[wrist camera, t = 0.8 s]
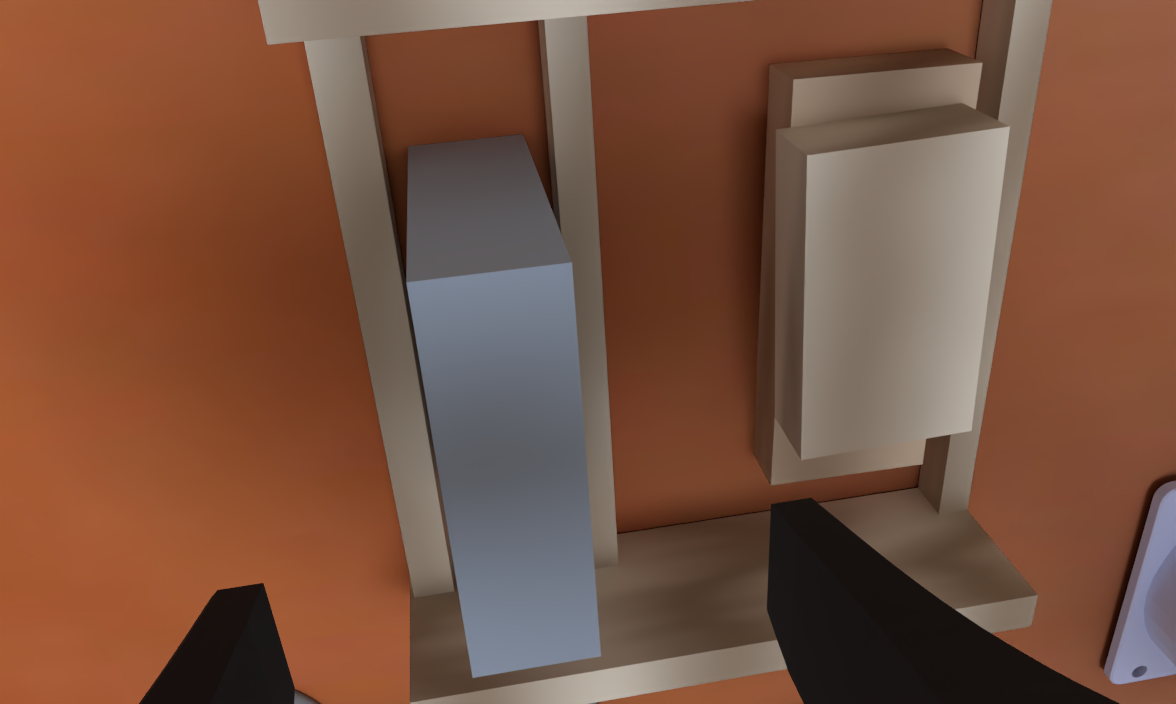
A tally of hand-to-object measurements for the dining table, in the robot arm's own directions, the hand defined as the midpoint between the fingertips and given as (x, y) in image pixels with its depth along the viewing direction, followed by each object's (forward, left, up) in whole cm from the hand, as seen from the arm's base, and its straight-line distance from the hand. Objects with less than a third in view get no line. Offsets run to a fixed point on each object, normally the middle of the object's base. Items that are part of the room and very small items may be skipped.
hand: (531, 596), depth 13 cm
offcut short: (-8, 0, -8) cm, 12 cm away
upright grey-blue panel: (0, 0, -10) cm, 10 cm away
